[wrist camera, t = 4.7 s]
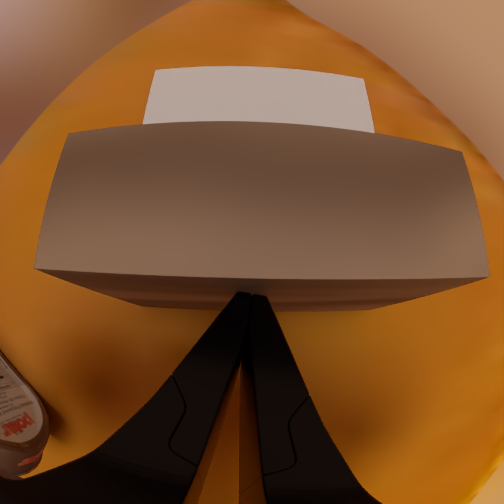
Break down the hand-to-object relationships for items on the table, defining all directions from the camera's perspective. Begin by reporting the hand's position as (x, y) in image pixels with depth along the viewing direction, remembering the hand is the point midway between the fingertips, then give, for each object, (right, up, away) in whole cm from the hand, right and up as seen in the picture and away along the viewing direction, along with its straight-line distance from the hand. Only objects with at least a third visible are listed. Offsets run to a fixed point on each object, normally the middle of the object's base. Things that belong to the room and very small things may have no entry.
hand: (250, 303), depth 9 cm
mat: (+1, +8, +8) cm, 12 cm away
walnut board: (0, +1, +7) cm, 7 cm away
